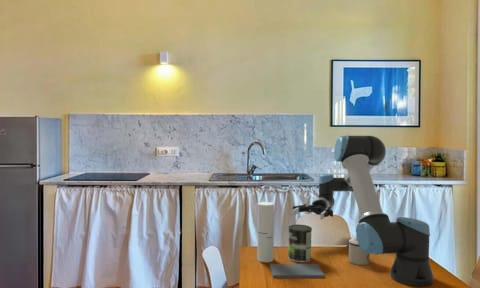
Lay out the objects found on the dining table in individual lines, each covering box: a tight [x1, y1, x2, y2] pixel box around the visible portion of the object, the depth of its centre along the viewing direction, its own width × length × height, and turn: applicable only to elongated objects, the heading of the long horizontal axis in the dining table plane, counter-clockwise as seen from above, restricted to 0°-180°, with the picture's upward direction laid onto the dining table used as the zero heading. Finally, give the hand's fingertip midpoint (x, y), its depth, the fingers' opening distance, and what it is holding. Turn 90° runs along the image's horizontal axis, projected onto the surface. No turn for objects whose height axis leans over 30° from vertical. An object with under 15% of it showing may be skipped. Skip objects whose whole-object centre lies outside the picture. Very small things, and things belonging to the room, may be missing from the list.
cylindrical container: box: [256, 201, 275, 263], centre depth 164 cm, size 7×7×25 cm
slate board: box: [269, 263, 325, 279], centre depth 150 cm, size 20×12×1 cm, turn 91°
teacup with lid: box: [348, 236, 370, 266], centre depth 163 cm, size 12×9×12 cm
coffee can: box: [287, 224, 313, 263], centre depth 166 cm, size 10×10×14 cm
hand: (307, 214), depth 174 cm, fingers open, 13 cm apart
